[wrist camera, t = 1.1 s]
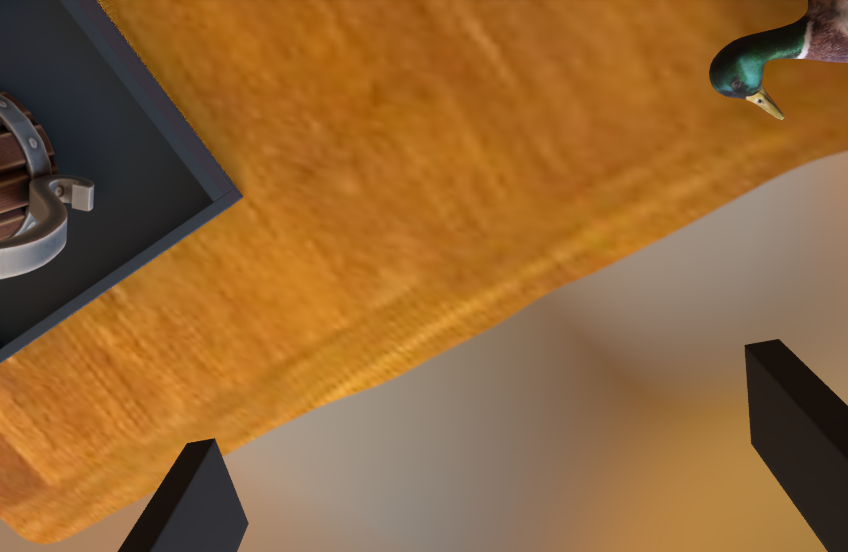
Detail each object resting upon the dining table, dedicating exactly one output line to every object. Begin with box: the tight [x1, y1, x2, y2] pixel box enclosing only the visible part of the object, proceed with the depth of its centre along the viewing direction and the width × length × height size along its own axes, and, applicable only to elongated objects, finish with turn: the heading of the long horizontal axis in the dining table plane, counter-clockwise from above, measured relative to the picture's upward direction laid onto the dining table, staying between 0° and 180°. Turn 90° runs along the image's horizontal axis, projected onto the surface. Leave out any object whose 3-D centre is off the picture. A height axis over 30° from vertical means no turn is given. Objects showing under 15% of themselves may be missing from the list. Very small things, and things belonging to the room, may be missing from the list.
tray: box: [0, 0, 243, 364], centre depth 41 cm, size 18×22×2 cm
